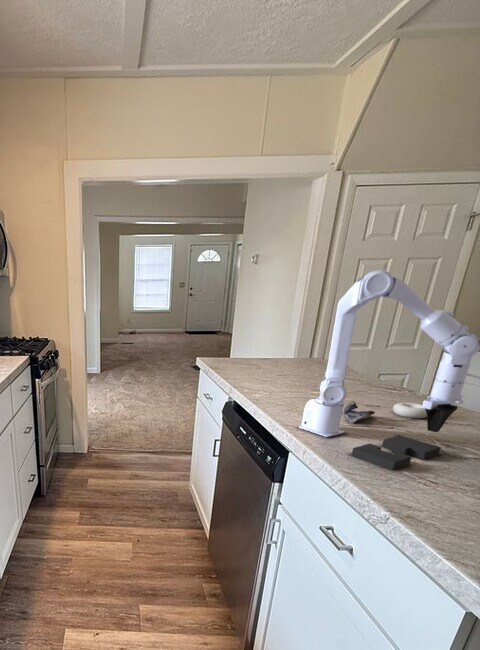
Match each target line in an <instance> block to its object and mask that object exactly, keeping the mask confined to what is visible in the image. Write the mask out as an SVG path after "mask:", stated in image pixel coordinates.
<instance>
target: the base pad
mask: <svg viewBox="0 0 480 650" xmlns="http://www.w3.org/2000/svg"><path fill="white" fill-rule="evenodd" d="M351 456H352V457H355V458H358V459H360V460H363V461H366V462H368V463H369V462H370V463H372V464H374V465H377V466H379V467H383V468H385V469H388V470H391V471H393V470H396V469H400V468H402V467H405V466H408V465H410V464H411V460H412V456H411V455H405V454H401V453H393V452H389V451H386V450H383V449H382V446H379V445H376V444H374V443H373V444H372V443H366V444H363V445H359V446H356V447H353V448H352V451H351Z"/></svg>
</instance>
